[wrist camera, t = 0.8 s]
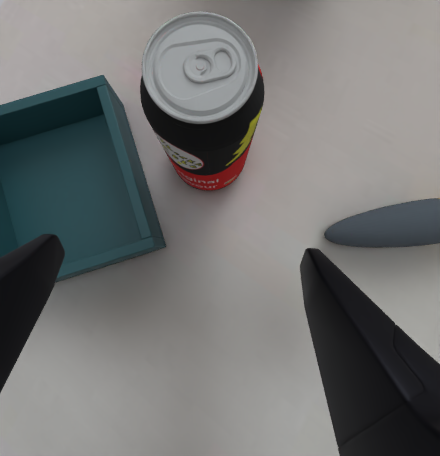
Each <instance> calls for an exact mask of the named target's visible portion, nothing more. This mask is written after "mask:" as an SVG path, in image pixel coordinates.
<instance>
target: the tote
mask: <svg viewBox="0 0 440 456" xmlns="http://www.w3.org/2000/svg"><path fill="white" fill-rule="evenodd" d="M42 234H55V235H57V236H58V237H59V240H60V242H61V244H62V246H63V248H64V250H65V257H64V260H63V262H62V265H61V268H60V270H59V273H58V276H57V278H56V281H55V282H58V281H61V280H64V279H68V278H71V277H74V276H77V275H80V274H83V273H86V272H90V271H93V270H96V269H99V268H102V267H105V266H108V265H112V264H115V263H118V262H121V261H124V260H127V259H130V258H133V257H137V256H140V255H143V254H146V253H149V252H152V251H155V250H159V249H162V248H165V247H166V244H165V241H164V238H163V234H162V231H161V228H160V224H159V221H158V218H157V215H156V211H155V208H154V205H153V201H152V198H151V195H150V192H149V188H148V185H147V182H146V178H145V175H144V172H143V169H142V165H141V162H140V159H139V155H138V152H137V149H136V146H135V142H134V139H133V136H132V132H131V129H130V126H129V123H128V119H127V116H126V113H125V110H124V106H123V104H122V102H121V101H120V99H119V98H118V96H117V95H116V93H115V92H114V90H113V89H112V87H111V86H110V84H109V83H108V81H107V80H106V78H105V77H104V75H100V76H97V77H94V78H90V79H87V80H84V81H80V82H77V83H74V84H70V85H67V86H63V87H60V88H57V89H53V90H50V91H47V92H43V93H40V94H36V95H33V96H30V97H26V98H23V99H20V100H16V101H13V102H9V103H6V104H3V105H0V257H2V256H4V255H6V254H8V253H9V252H11V251H13V250H15V249H17V248H19V247H20V246H22V245H24V244H26V243H28V242H30V241H31V240H33V239H35V238H37V237H39V236H40V235H42Z"/></svg>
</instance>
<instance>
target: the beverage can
mask: <svg viewBox="0 0 440 456" xmlns="http://www.w3.org/2000/svg"><path fill="white" fill-rule="evenodd" d="M140 93H141V102H142V107H143V110H144V113H145V115H146V117H147V119H148V121H149V123H150V125H151V127H152V128H153V130H154V132H155V134H156V136H157V137H158V139H159V141H160V143H161V145H162V146H163V148H164V150H165V152H166V154H167V156H168V157H169V159H170V161H171V163H172V165H173V166H174V168H175V170H176V172H177V173H178V175H179V176H180V177H181V179H182V180H184V181H185V182H186V183H187V184H189V185H190V186H192V187H195V188H197V189H201V190H216V189H220V188H223V187H225V186H227V185H229V184H230V183H232V182H233V181H234V180H235V179H236V178H237V177H238V176H239V174H240V173H241V171H242V169H243V167H244V164H245V161H246V157H247V154H248V151H249V148H250V145H251V142H252V138H253V135H254V132H255V129H256V126H257V122H258V119H259V116H260V113H261V110H262V106H263V101H264V83H263V77H262V73H261V70H260V67H259V65H258V60H257V54H256V51H255V48H254V45H253V43H252V41H251V40H250V38H249V36H248V35H247V34H246V32H245V31H244V30H243V29H242V28H241V27H240V26H238V25H237V24H236V23H235V22H233V21H232V20H230V19H228V18H226V17H224V16H221V15H219V14H215V13H210V12H189V13H185V14H181V15H178V16H176V17H174V18H172V19H170V20H168V21H167V22H165V23H164V24H163V25H161V26H160V27H159V28H158V29H157V30H156V31H155V32H154V34H153V35H152V36H151V38H150V39H149V41H148V43H147V45H146V48H145V50H144V54H143V59H142V78H141V85H140Z"/></svg>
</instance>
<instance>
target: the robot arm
mask: <svg viewBox="0 0 440 456" xmlns="http://www.w3.org/2000/svg"><path fill="white" fill-rule="evenodd" d="M64 257H65V250H64V248H63V246H62V244H61V242H60V240H59V237H58V236H57V235H55V234H42V235H40V236H39V237H37V238H35V239H33V240H31V241H30V242H28V243H26V244H24V245H22V246H20V247H19V248H17V249H15V250H13V251H11V252H9V253H8V254H6V255H4V256H2V257H0V392H1V391H2V389H3V387H4V385H5V383H6V381H7V379H8V377H9V375H10V373H11V371H12V369H13V367H14V365H15V363H16V361H17V359H18V357H19V355H20V353H21V351H22V349H23V347H24V345H25V343H26V341H27V339H28V337H29V335H30V333H31V331H32V329H33V328H34V326H35V324H36V322H37V320H38V318H39V316H40V314H41V312H42V310H43V308H44V306H45V304H46V302H47V300H48V298H49V296H50V294H51V291H52V289H53V286H54V284H55V281H56V278H57V276H58V273H59V270H60V268H61V265H62V262H63V260H64ZM300 272H301V281H302V290H303V298H304V306H305V311H306V316H307V320H308V324H309V328H310V332H311V337H312V341H313V345H314V349H315V353H316V357H317V362H318V366H319V370H320V374H321V378H322V383H323V387H324V391H325V395H326V399H327V403H328V408H329V412H330V416H331V420H332V424H333V429H334V433H335V437H336V441H337V445H338V447H339V448H338V450H339V454H340V456H440V364H439V363H438V362H437V361H435V360H434V359H433V358H432V357H431V356H430V355H429V354H427V353H426V352H425V351H424V350H423V349H422V348H421V347H420V346H419V345H417V344H416V343H415V342H414V341H413V340H412V339H411V338H410V337H409V336H408V335H407V334H406V333H405V332H404V331H403V330H402V329H401V328H400V327H399V326H397V325H395V323H394V322H393V321H392V320H391V319H390V318H389V317H388V316H387V315H386V314H385V313H384V312H383V311H382V310H381V309H380V308H379V307H378V306H377V305H376V304H375V303H374V302H373V301H372V300H371V299H370V298H369V297H368V296H367V295H365V294H364V293H363V292H362V291H361V290H360V289H359V288H358V287H357V286H356V285H355V284H354V283H353V282H352V281H351V280H350V279H349V278H348V277H347V276H346V275H345V274H344V273H343V272H342V271H341V270H340V269H339V268H338V267H337V266H336V265H335V264H334V263H333V262H331V261H330V260H329V259H328V258H327V257H326V256H325V255H324V254H323V253H322V252H321V251H320V250H319V249H315V248H307V249H306V250H305V253H304V255H303V258H302V261H301V264H300Z"/></svg>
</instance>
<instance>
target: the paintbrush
mask: <svg viewBox="0 0 440 456" xmlns="http://www.w3.org/2000/svg"><path fill="white" fill-rule="evenodd" d="M324 236H325V238H326V239H328V240H329V241H331V242H334V243H337V244H341V245H347V246H356V247H407V246H419V245H429V244H437V243H440V198H434V199H425V200H418V201H411V202H406V203H401V204H396V205H391V206H387V207H383V208H379V209H375V210H371V211H368V212H364V213H361V214H358V215H355V216H352V217H349V218H346V219H344V220H342V221H340V222H338V223H336V224H334V225H332V226H331V227H330V228H328V229H327V230H326V232H325V233H324Z"/></svg>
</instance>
